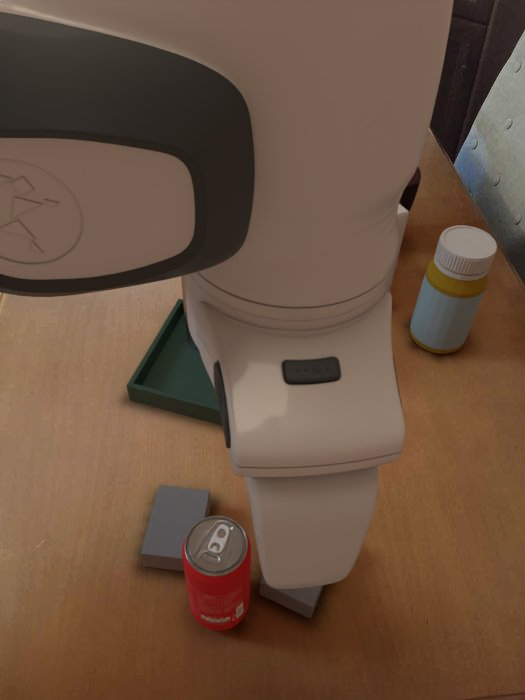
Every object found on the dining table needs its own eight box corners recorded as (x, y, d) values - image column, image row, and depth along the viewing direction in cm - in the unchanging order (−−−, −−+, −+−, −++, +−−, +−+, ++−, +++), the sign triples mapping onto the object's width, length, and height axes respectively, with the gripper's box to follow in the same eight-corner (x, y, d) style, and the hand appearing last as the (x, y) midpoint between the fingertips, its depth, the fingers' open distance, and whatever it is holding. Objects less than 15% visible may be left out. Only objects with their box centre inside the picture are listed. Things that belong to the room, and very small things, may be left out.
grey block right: (258, 594, 54) (259, 582, 52) (289, 528, 58) (291, 515, 56) (310, 619, 52) (313, 607, 50) (337, 550, 57) (341, 537, 55)
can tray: (129, 400, 68) (126, 385, 66) (180, 313, 78) (178, 298, 76) (273, 439, 65) (274, 425, 63) (307, 343, 75) (309, 328, 73)
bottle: (451, 365, 73) (489, 269, 62) (399, 341, 76) (426, 246, 65) (471, 331, 77) (509, 237, 66) (421, 310, 80) (449, 215, 69)
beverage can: (180, 621, 52) (168, 563, 43) (206, 567, 55) (199, 503, 47) (235, 644, 51) (234, 590, 42) (257, 588, 54) (261, 526, 45)
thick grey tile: (143, 566, 55) (140, 553, 53) (161, 498, 60) (159, 484, 58) (197, 573, 55) (195, 560, 53) (211, 504, 60) (209, 490, 58)
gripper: (199, 169, 33) (206, 341, 43) (237, 497, 19) (234, 638, 30) (310, 165, 34) (292, 335, 44) (422, 479, 20) (358, 622, 30)
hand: (269, 459), depth 37 cm, fingers open, 8 cm apart
